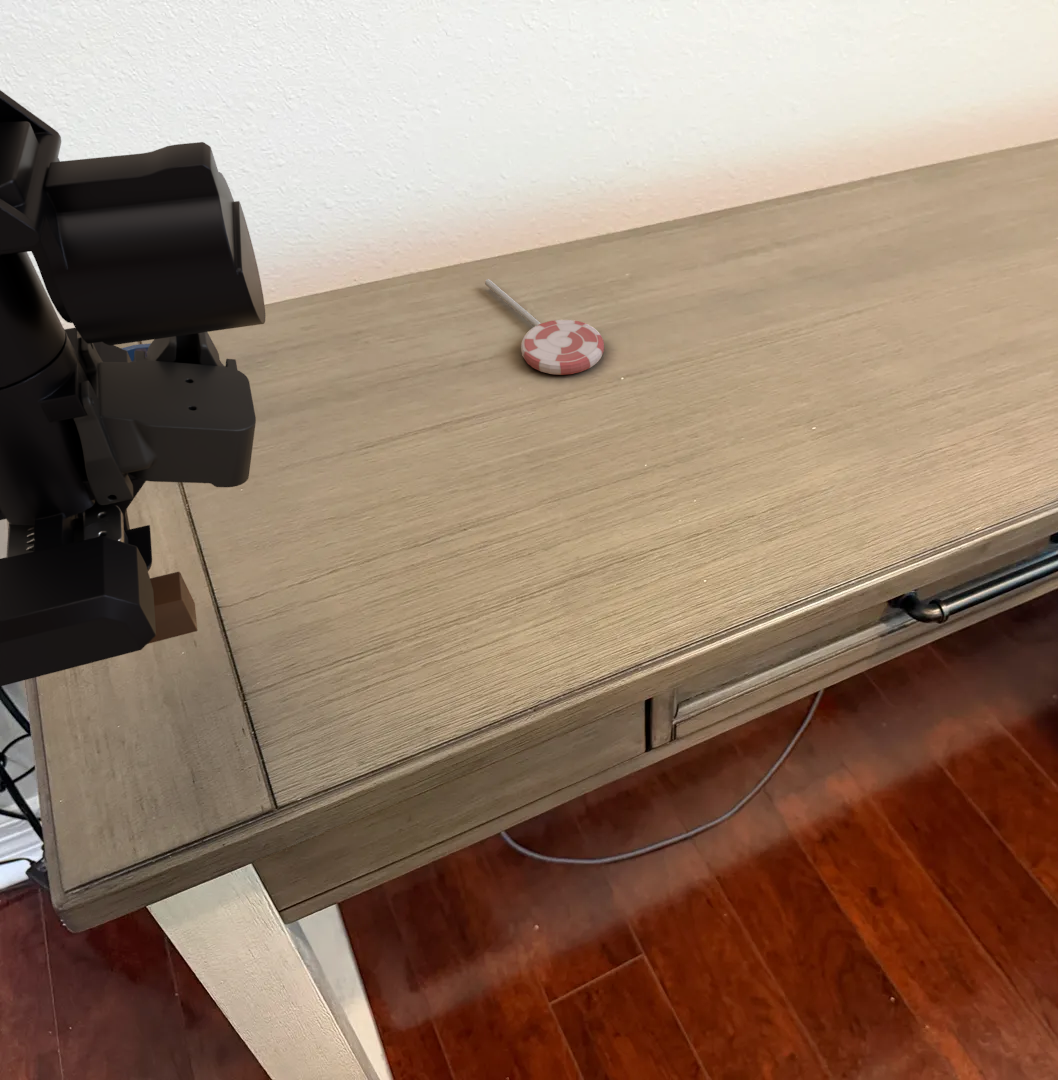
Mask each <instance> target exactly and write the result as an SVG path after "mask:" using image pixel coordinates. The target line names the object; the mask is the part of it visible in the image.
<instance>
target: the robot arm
mask: <svg viewBox="0 0 1058 1080" xmlns="http://www.w3.org/2000/svg"><path fill="white" fill-rule="evenodd" d="M61 146H62V136H61V135H60V133H59V132H58V131H57V130H56V129H55V128H53V127H51V126H50V125H49V124H48V123H46V122H45V121H44V120H42V119H41V118H40V117H38V116H37V115H36V114H34V113H33V112H31V111H30V110H28V109H27V108H26V107H24V106H23V105H22V104H21V103H18V101H16V100H14V99H13V98H12V97H11V96H9V95H8V94H6V93H5V92H3V90H1V89H0V521H3V520H6V521H7V522H8V526H7V527H8V529H7V543H6V557H1V558H0V687H3V686H7V685H11V684H16V683H19V682H23V681H27V680H30V679H35V678H38V677H42V676H46V675H49V674H55V673H58V672H61V671H65V670H69V669H73V668H76V667H81V666H85V665H89V664H92V663H96V662H101V661H104V660H107V659H108V660H109V659H112V658H115V657H119V656H123V655H127V654H131V653H135V652H139V651H142V650H143V649H144V648H145V647H146V646H147V645H149V644H150V643H149V642H150V641H151V640H152V639H153V638H154V637H155V636H156V627H155V610H154V594H153V588H152V584H151V581H150V574H149V571H150V569H151V568H152V565H153V552H152V551H153V550H152V537H151V525H150V524H147V525H143V526H138V527H134V528H131V527H130V521H129V516H128V515H129V514H128V508H129V507H130V505H131V504H132V502H133V501H134V499H135V498H136V496H137V495H138V493H139V492H140V490H141V489H142V488H143V486H144V485H145V483H146V482H155V483H156V482H157V483H184V484H185V483H189V484H211V485H212V486H214V487H216V488H234V487H238V486H241V485H243V484H245V483H246V482H247V481H248V480H249V477H250V469H251V464H252V463H251V462H252V454H253V447H254V446H253V445H254V439H255V430H256V424H257V423H256V422H257V416H256V412H255V407H254V401H253V394H252V389H251V383H250V380H249V378H248V376H247V375H246V374H245V373H243V372H242V371H241V370H239V369H238V365H237V360H236V359H235V358H226V359H225V365H224V364H223V363H222V361H221V359H220V353H219V351H218V349H217V347H216V345H215V343H214V341H213V340H212V337H211V336H210V334H209V333H208V332H217V331H224V330H231V329H238V328H244V327H253V326H258V325H259V326H260V325H264V324H265V323H266V307H265V306H266V305H265V298H264V291H263V287H262V282H261V281H262V280H261V277H260V272H259V267H258V263H257V258H256V254H255V250H254V246H253V242H252V239H251V234H250V231H249V228H248V223H247V221H246V217H245V213H244V211H243V210H244V209H243V207H242V204H241V202H240V200H236V201H235V200H234V197H233V194H232V192H231V189H230V186H229V185H228V182H227V180H226V178H225V176H224V175H223V173H222V172H220V171H219V169H218V166H217V163H216V160H215V156H214V153H213V150H212V147H211V145H209V144H207V143H205V142H204V141H197V142H188V143H177V144H172V145H171V144H170V145H167V146H164V147H162V148H158V149H155V150H152V151H147V152H142V153H133V154H132V153H131V154H124V155H112V156H102V157H101V156H100V157H89V158H82V159H70V160H60V158H59V155H60V151H61ZM28 252H29V253H30V252H31V253H32V256H33V258H34V260H35V262H36V264H37V267H38V270H39V273H40V275H41V278H42V280H41V278H40V276H39V274H38V271H37V270H36V268H35V266H34V264H33V262H32V260H31V257H30V255H29V253H28ZM42 281H43V283H42ZM56 311H57V312H56ZM58 314H59V315H60V317H61V318H62V319H63V320H64V321H65V322H66V323H69V324H73V326H74V327H70V328H64V326H63V324H62V322H61V320H60V317H59V316H58ZM151 340H152V341H151ZM145 341H151V342H150V343H151V344H150V346H149V347H148V351H147V357H146V358H145V352H144V351H134V361H131V359H130V357H129V354H128V352H127V351H126V350H124V349H121V348H122V347H119V346H117V345H124V344H131V343H138V342H145ZM148 643H149V644H148Z"/></svg>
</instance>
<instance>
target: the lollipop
mask: <svg viewBox="0 0 1058 1080" xmlns="http://www.w3.org/2000/svg"><path fill="white" fill-rule="evenodd" d="M484 285H485V286H486V287H487V288H489V289H490V290H491V291H492V292H493V293H494V294H495V295H496V296H498V297H499V299H501V300H503V301H504V302H505V303H506V304H507V305H508V306H509V307H511V309H513V310H514V311H515V312H516V313H517V314H519V316H521V317H522V318H523V319H524V320H525V321H527V322H528V323H529V324H530V325H532V328H530V329H529V330H528V331H527V332H526V333H525V334H524V336H523V337H522V340H521V343H520V351H521V356H522V358H523V359H524V360H525V362H526V364H528V365H529V366H530V367H531V368H533V369H535V370H536V371H539V372H541V373H546V374H550V375H557V376H558V375H560V376H563V375H573V374H578V373H581V372H585V371H586V370H589V369H591V368H592V367H594V366H595V365H596V364H598V363H599V361H600V360H601V358H602V356H603V355H604V351H605V341H604V339H603V336H602V334H601V333H600V332H599V331H598V330H597V329H596V328H595V327H593V326H592V325H591V324H588V323H585V322H583V321H580V320H575V319H554V320H549V321H545V322H540V321H539V320H538V319H536V317H534V316H533V315H532V314H531V313H530V312H528V310H527V309H525V308H524V307H523V306H521V305H520V304H519V303H518V302H517V301H515V299H513V298H512V297H511V296H509V294H507V293H506V292H505V291H504V290H502V289H501V288H500V286H498V285H497V284H496V283H494V282H493V281H492V280H491V279H489V278H487V279H485V281H484Z"/></svg>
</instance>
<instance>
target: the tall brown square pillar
mask: <svg viewBox="0 0 1058 1080" xmlns="http://www.w3.org/2000/svg"><path fill="white" fill-rule="evenodd" d="M150 581H151V584H152V588H153V594H154V610H155V627H156V636H155V637H154V638H153V639H152V640H151V641H150V642H149V643H148V644H147V645H149V644H152V643H158V642H160V641H161V642H162V641H164V640H168V639H173V638H176V637H180V636H183V635H188V634H192V633H196V632H197V631H198V622H197V609H196V602H195V601H194V598H193V596H192V594H191V592H190V590H189V588H188V586H187V584H186V581H185V579H184V578H183V575H182V573H181V572H180V571H175V572H171V573H167V574H163V575H158V576H155V577H151V578H150Z"/></svg>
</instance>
